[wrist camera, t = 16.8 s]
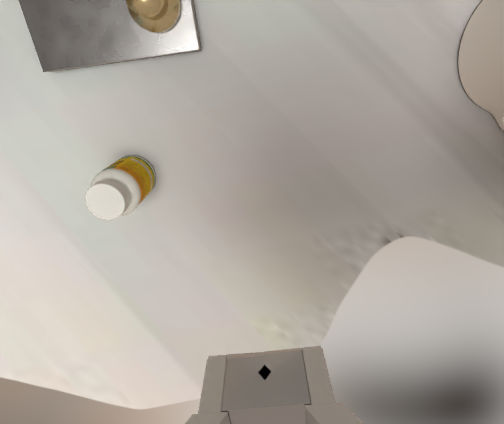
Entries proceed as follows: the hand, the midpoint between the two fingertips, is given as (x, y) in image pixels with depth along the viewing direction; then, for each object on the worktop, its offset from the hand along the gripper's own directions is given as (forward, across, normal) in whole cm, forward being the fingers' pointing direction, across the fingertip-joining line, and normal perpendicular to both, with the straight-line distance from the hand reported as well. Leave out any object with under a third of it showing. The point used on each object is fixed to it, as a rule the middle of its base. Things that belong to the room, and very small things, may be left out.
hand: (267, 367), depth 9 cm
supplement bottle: (+34, +16, +3) cm, 38 cm away
